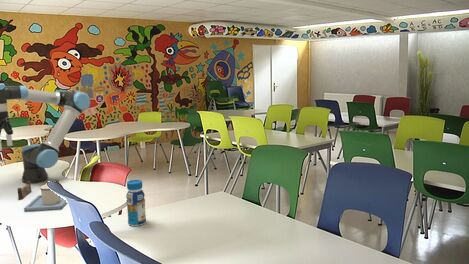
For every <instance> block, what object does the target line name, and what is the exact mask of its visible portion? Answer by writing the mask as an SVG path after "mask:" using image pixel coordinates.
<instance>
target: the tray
mask: <svg viewBox="0 0 469 264" xmlns="http://www.w3.org/2000/svg"><path fill="white" fill-rule="evenodd" d="M67 204H68V203H66V200H64V199H63V198H61V197H60V202H59V203H57V204H53V205H44V204H43V203H42V194H39V195H37V196H36V197H35V198H34V199H32V201H30V202H29V203H28V204H27V205H25V206H24V208H23V212H24V213H29V212H30V213H31V212H32V213H33V212H45V211H46V212H48V211H61V210H63V208H64V207H66V205H67Z"/></svg>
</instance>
